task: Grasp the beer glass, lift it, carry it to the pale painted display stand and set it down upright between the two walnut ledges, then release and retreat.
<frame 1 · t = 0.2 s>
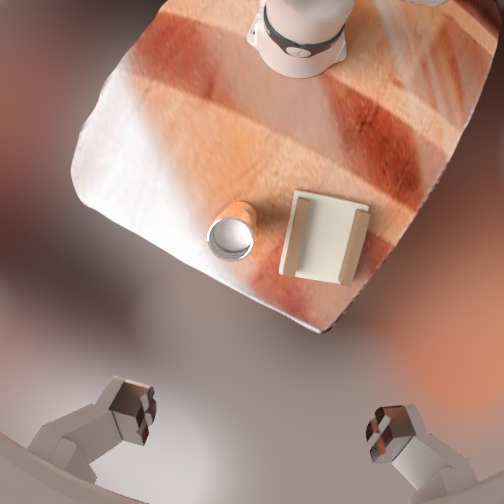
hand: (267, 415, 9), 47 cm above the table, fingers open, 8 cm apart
display stand: (322, 236, 55), on the table
beer glass: (240, 216, 55), on the table
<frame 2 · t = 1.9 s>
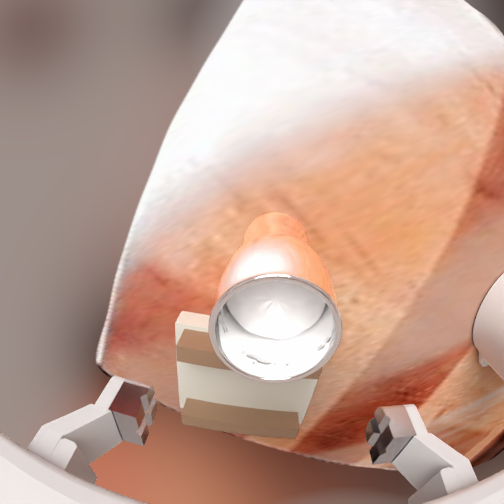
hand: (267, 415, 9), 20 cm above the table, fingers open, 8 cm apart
display stand: (247, 368, 33), on the table
beer glass: (275, 242, 28), on the table
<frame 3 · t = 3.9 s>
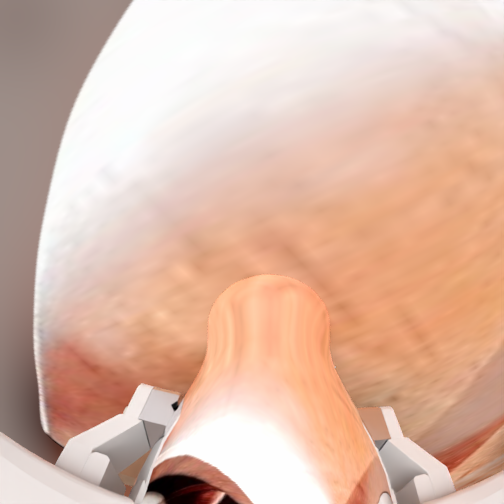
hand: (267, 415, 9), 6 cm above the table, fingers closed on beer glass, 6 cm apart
display stand: (229, 470, 20), on the table
beer glass: (268, 326, 14), on the table, touching gripper
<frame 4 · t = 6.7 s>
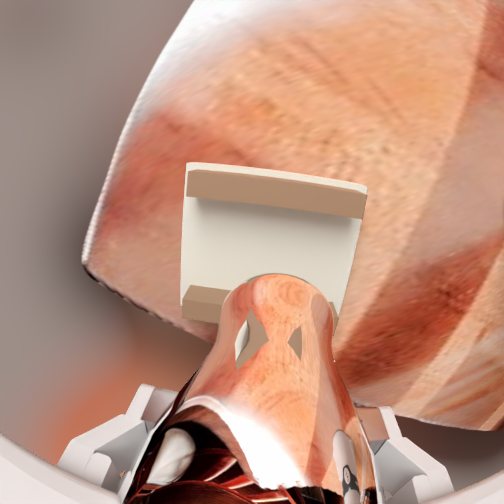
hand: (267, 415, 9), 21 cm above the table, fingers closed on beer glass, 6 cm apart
display stand: (268, 241, 29), on the table
beer glass: (276, 323, 15), point 14 cm above the table, touching gripper
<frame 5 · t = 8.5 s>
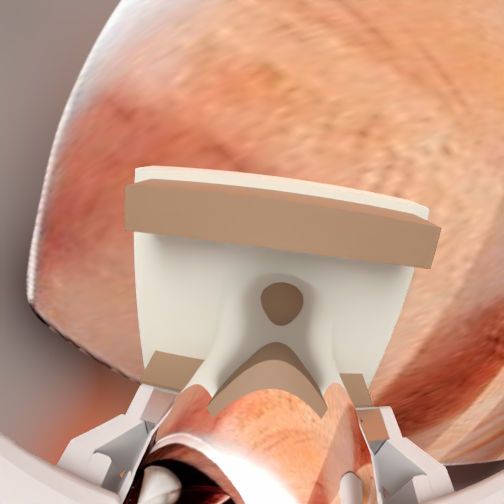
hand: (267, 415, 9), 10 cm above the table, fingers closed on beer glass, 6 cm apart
display stand: (270, 289, 18), on the table
beer glass: (276, 323, 15), point 3 cm above the table, touching gripper
when the fingers open (9 cm above the table, at t = 9.7 s): beer glass stays where it is, resting on display stand.
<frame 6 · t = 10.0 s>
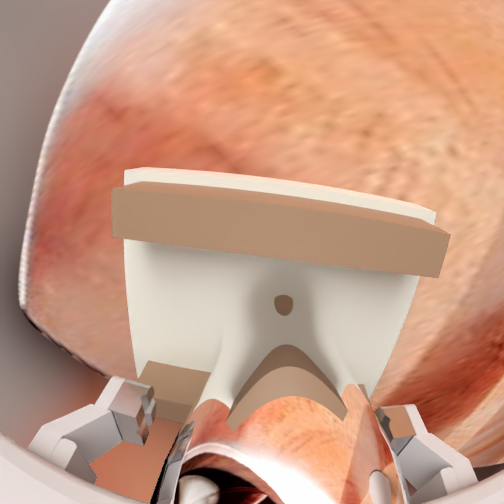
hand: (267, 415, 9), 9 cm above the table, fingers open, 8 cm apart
display stand: (268, 297, 18), on the table
beer glass: (277, 321, 15), point 2 cm above the table, touching display stand
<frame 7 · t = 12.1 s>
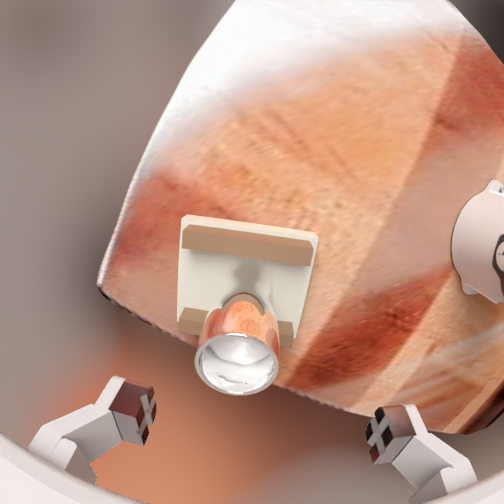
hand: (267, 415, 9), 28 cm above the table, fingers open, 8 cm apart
display stand: (243, 275, 38), on the table
beer glass: (246, 285, 36), point 2 cm above the table, touching display stand
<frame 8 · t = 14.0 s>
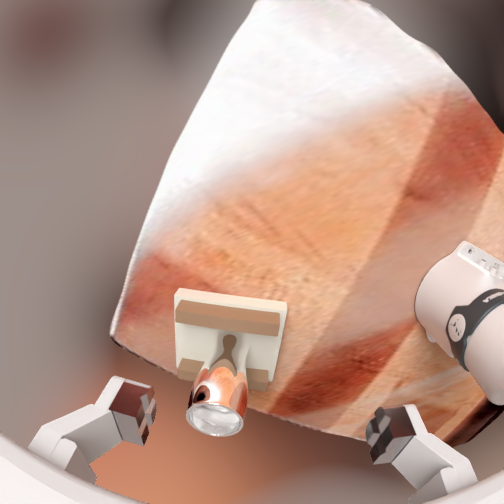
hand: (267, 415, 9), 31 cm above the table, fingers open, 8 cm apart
display stand: (228, 333, 45), on the table
beer glass: (230, 344, 43), point 2 cm above the table, touching display stand
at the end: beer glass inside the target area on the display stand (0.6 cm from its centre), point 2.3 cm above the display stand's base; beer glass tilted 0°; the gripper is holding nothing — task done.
